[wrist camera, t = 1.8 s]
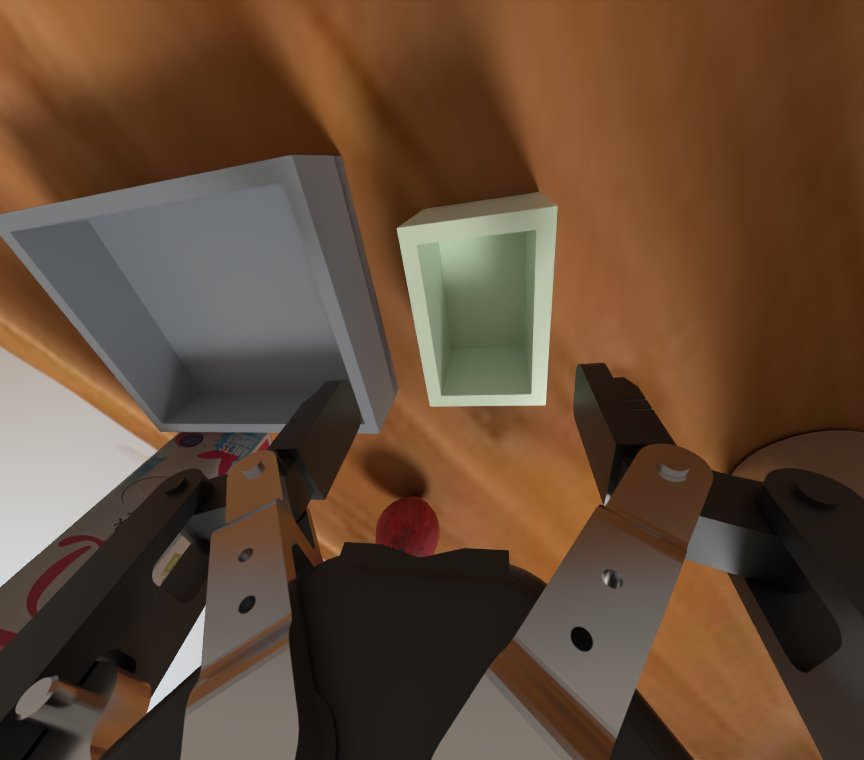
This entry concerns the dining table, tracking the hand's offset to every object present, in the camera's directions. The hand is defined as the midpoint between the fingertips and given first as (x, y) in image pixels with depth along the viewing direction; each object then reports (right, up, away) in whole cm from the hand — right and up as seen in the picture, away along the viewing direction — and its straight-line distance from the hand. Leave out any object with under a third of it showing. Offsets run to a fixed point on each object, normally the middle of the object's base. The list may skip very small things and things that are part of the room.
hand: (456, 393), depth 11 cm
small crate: (+2, +6, +8) cm, 10 cm away
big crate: (-13, +6, +11) cm, 18 cm away
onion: (-2, -11, +21) cm, 24 cm away
